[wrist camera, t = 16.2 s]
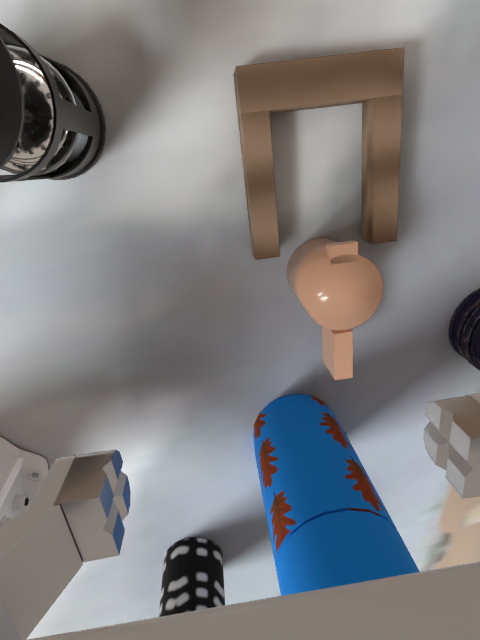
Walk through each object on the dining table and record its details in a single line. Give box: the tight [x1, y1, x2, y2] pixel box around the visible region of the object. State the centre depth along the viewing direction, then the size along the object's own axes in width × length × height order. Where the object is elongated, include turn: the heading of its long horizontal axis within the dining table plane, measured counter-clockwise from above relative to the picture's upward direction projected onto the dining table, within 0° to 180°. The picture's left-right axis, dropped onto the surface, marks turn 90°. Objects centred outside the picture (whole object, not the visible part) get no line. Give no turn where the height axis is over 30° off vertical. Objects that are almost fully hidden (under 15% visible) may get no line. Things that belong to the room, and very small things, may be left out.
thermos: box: [253, 394, 419, 596], centre depth 37 cm, size 11×11×25 cm
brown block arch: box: [234, 48, 404, 260], centre depth 36 cm, size 16×14×3 cm
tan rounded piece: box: [287, 238, 383, 380], centre depth 38 cm, size 13×7×8 cm, turn 7°
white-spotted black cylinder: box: [159, 538, 225, 617], centre depth 46 cm, size 8×8×20 cm
